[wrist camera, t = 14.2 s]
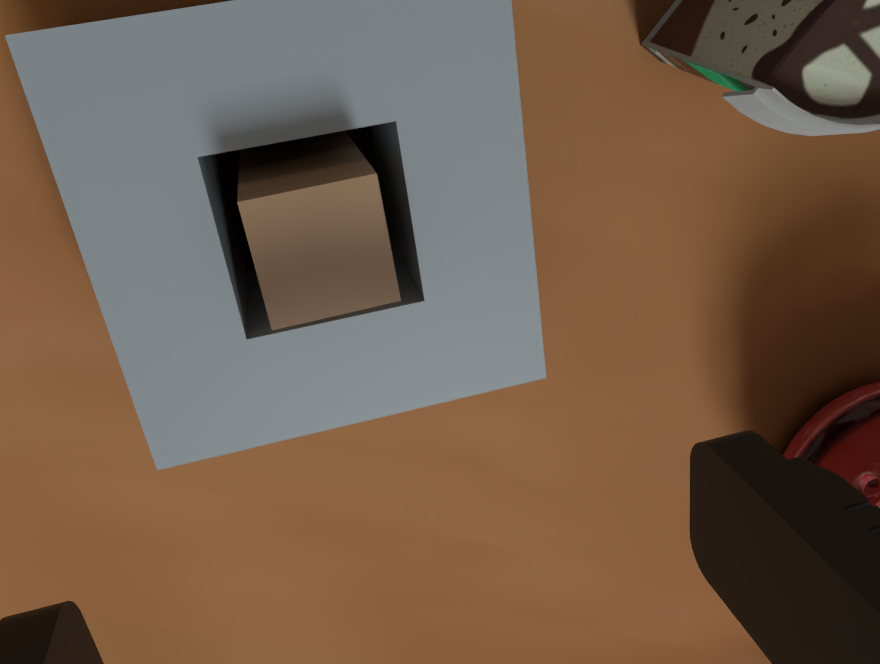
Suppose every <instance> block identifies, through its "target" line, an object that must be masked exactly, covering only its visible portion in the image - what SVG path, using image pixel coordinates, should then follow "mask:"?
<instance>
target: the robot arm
mask: <svg viewBox="0 0 880 664" xmlns="http://www.w3.org/2000/svg"><path fill="white" fill-rule="evenodd" d="M690 539H691V545H692V549H693V553H694V556H695V558H696V561H697V563H698V566H699V568H700V570H701V572H702V574H703V575H704V577H705V578H706V580H707V581H708V583H709V584H710V585H711V586H712V588H713V589H714V590H715V591H716V593H717V594H718V595H719V597H720V598H721V599H722V600H723V602H724V603H725V604H726V606H727V607H728V608H729V609H730V611H731V612H732V613H733V614H734V616H735V617H736V618H737V620H738V621H739V622H740V623H741V625H742V626H743V627H744V628H745V630H746V631H747V632H748V634H749V635H750V636H751V637H752V639H753V640H754V641H755V642H756V644H757V645H758V646H759V648H760V649H761V650H762V651H763V653H764V654H765V655H766V657H767V658H768V659H769V660H770V662H771V663H772V664H880V508H879V507H878V506H877V505H874V506H872V505H871V503H870V500H869V499H868V498H867V497H866V496H864V495H863V494H862V493H861V492H860V491H858V490H857V489H856V488H855V487H853V486H852V485H851V484H850V483H849V482H847V481H846V480H845V479H844V478H842V477H841V476H840V475H838V474H836V473H834V472H832V471H829V470H827V469H825V468H823V467H820V466H818V465H816V464H814V463H811V462H809V461H807V460H804V459H802V458H800V457H796V458H792V459H789V460H787V459H786V458H785V457H784V456H783V455H782V454H781V453H779V452H778V451H777V450H776V449H775V448H774V447H772V446H771V445H770V444H769V443H768V442H767V441H765V440H764V439H763V438H762V437H761V436H760V435H758V434H757V433H755V432H753V431H749V430H747V431H742V432H738V433H734V434H730V435H727V436H723V437H719V438H715V439H711V440H707V441H703V442H699V443H696V444H695V445H694V446H693V448H692V450H691V455H690ZM0 664H104V663H103V661H102V659H101V656H100V654H99V652H98V650H97V647H96V645H95V643H94V640H93V638H92V636H91V634H90V631H89V629H88V627H87V624H86V622H85V620H84V618H83V615H82V613H81V611H80V609H79V608H78V606H77V605H76V604H75V603H73V602H72V601H66V602H63V603H59V604H55V605H51V606H47V607H43V608H39V609H35V610H31V611H27V612H23V613H19V614H15V615H11V616H7V617H4V618H2V619H1V620H0Z"/></svg>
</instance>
